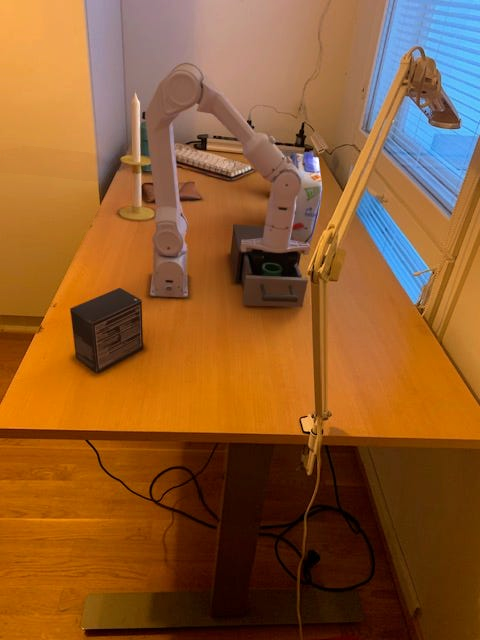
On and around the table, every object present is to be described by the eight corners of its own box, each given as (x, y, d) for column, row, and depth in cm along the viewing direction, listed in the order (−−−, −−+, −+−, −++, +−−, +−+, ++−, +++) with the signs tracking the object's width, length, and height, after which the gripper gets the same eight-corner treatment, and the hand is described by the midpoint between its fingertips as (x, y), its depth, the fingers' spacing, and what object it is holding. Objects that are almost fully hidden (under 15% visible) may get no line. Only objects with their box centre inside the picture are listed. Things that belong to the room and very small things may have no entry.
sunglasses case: (147, 202, 148) (144, 179, 147) (142, 206, 154) (139, 184, 153) (203, 199, 155) (201, 177, 154) (196, 203, 161) (193, 182, 161)
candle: (161, 213, 143) (163, 92, 125) (139, 223, 135) (137, 96, 118) (135, 204, 147) (133, 85, 129) (111, 213, 139) (106, 89, 121)
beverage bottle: (136, 169, 173) (135, 109, 162) (154, 169, 176) (154, 109, 165) (141, 175, 169) (140, 114, 158) (160, 175, 171) (160, 114, 160)
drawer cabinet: (294, 286, 115) (301, 253, 110) (235, 283, 113) (238, 250, 108) (284, 257, 127) (289, 227, 122) (230, 255, 125) (233, 224, 120)
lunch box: (274, 214, 151) (285, 141, 139) (307, 218, 151) (321, 145, 139) (273, 253, 128) (287, 169, 116) (313, 258, 128) (330, 175, 116)
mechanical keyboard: (255, 170, 187) (256, 161, 185) (230, 182, 173) (231, 173, 171) (174, 149, 201) (174, 140, 199) (145, 158, 186) (144, 149, 184)
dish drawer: (307, 321, 101) (313, 294, 97) (245, 319, 99) (249, 291, 96) (290, 276, 117) (295, 251, 113) (237, 274, 115) (239, 248, 111)
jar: (277, 281, 112) (280, 262, 109) (281, 292, 108) (284, 273, 105) (257, 280, 111) (259, 261, 108) (260, 291, 107) (262, 272, 104)
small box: (121, 333, 93) (119, 285, 87) (145, 348, 90) (144, 299, 84) (73, 357, 86) (67, 306, 80) (97, 374, 82) (92, 323, 77)
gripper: (308, 218, 105) (298, 273, 113) (242, 214, 103) (235, 271, 111) (316, 231, 100) (304, 289, 107) (245, 227, 98) (238, 286, 105)
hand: (270, 281), depth 109 cm, fingers closed on jar, 5 cm apart
